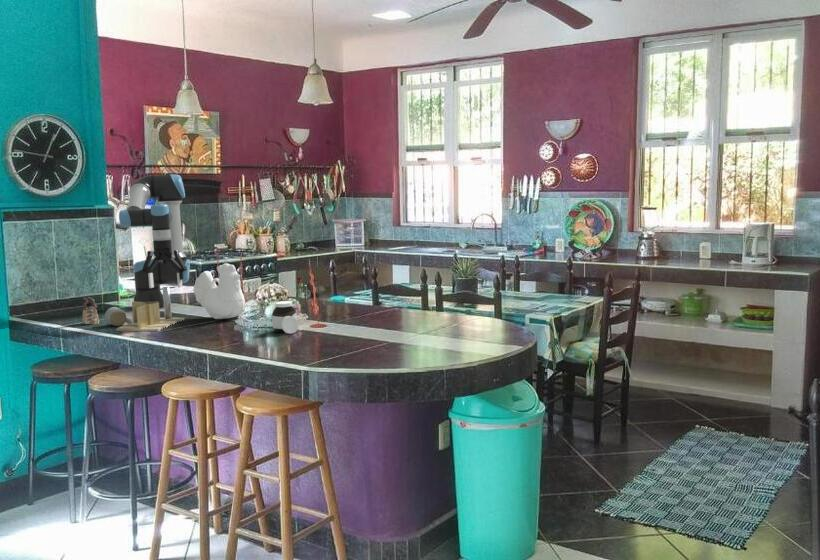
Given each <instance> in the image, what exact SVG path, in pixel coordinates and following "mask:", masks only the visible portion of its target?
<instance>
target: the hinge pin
mask: <svg viewBox="0 0 820 560" xmlns="http://www.w3.org/2000/svg"><path fill="white" fill-rule="evenodd" d="M162 295H163V301H164V306H163V310H164V311H163V312H164V318H165V319H172V318H173V316H172V315H173V314H172V303H171V290H170V286H163V287H162Z"/></svg>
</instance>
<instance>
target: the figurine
mask: <svg viewBox="0 0 820 560" xmlns="http://www.w3.org/2000/svg"><path fill="white" fill-rule="evenodd" d="M82 299H83V301H84V302H83V304H82V308H83V310H82V315H81V316H82V317H81V322H82V325H83V324H86V325H85V326H88V325H87V324H94V325H98V324H100V323H101V322H100V321H101V320H100V318H99V315H98V310H97V309H98V306H97V304H96V302H95V299H94V298H92V297H90V296H87V297H83V298H82ZM99 322H100V323H99ZM97 323H98V324H97Z"/></svg>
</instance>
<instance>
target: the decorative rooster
mask: <svg viewBox="0 0 820 560" xmlns="http://www.w3.org/2000/svg"><path fill="white" fill-rule="evenodd" d="M216 269H217V272H218V275H219V277H215V278H214V276H213V275H212V273H211V272H210V270H205V271H203V272H201V273H200V274H199V276H198V277H197V278H196V279H195V283H194V286H193V288H192V289H193V294H194V296H195V299H196V301H197V303H198V304H200V305H201V307H203V308H204V309H205V311H206V312H207V313H208V315H209V316H210V317H212V318H213V319H214V320H223V319H225V320H226V319H233V318H237V317H236V316H238V315H239V314H241V312H242V309H243V306H244V304H245V305H246V300H245V296H244V293H243V291H242V288H241V280H240V278H241V274H239V273H238V271H237V269H236V267H235V265H234V264H230V263H223V264H220V265H219V266H217V268H216ZM216 282H217V283H218V285H217V284H216ZM241 315H242V314H241ZM239 316H240V315H239ZM239 316H238V317H239Z"/></svg>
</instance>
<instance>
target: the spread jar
mask: <svg viewBox="0 0 820 560" xmlns="http://www.w3.org/2000/svg"><path fill="white" fill-rule="evenodd" d="M274 304H275V305H274V306H275V307H274V308H273V311H272V314H271V315H272V316H271V320H272V321H271V322H272V329H273V330H274V331H275V332H277V333H285V334H289V335H290V334H294V333H296V332H297V331H298V330H299V322H298V315H297V309H295V307H294V306H293V301H292V300H291V301H290V300H284V301H283V300H282V301H277V302H275V303H274Z"/></svg>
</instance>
